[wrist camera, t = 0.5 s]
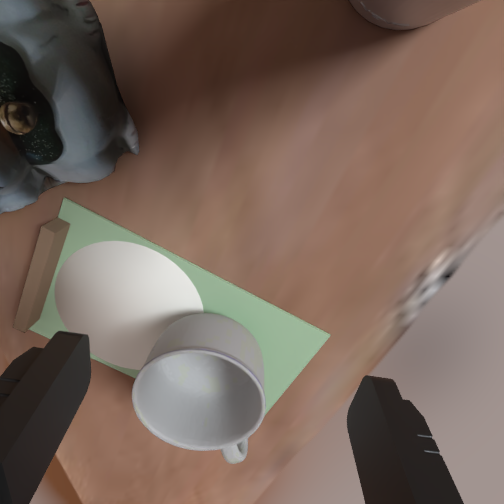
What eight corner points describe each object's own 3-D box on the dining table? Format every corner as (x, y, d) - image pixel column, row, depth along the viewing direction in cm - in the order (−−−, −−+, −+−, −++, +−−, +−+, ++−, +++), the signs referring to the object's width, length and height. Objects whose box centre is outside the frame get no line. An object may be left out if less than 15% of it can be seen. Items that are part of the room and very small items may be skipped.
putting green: (65, 197, 31) (47, 206, 28) (330, 334, 34) (333, 351, 32) (25, 326, 37) (8, 341, 35) (251, 430, 41) (249, 450, 38)
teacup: (148, 303, 34) (111, 361, 27) (258, 290, 32) (250, 348, 25) (187, 408, 40) (164, 479, 33) (283, 401, 38) (281, 475, 31)
